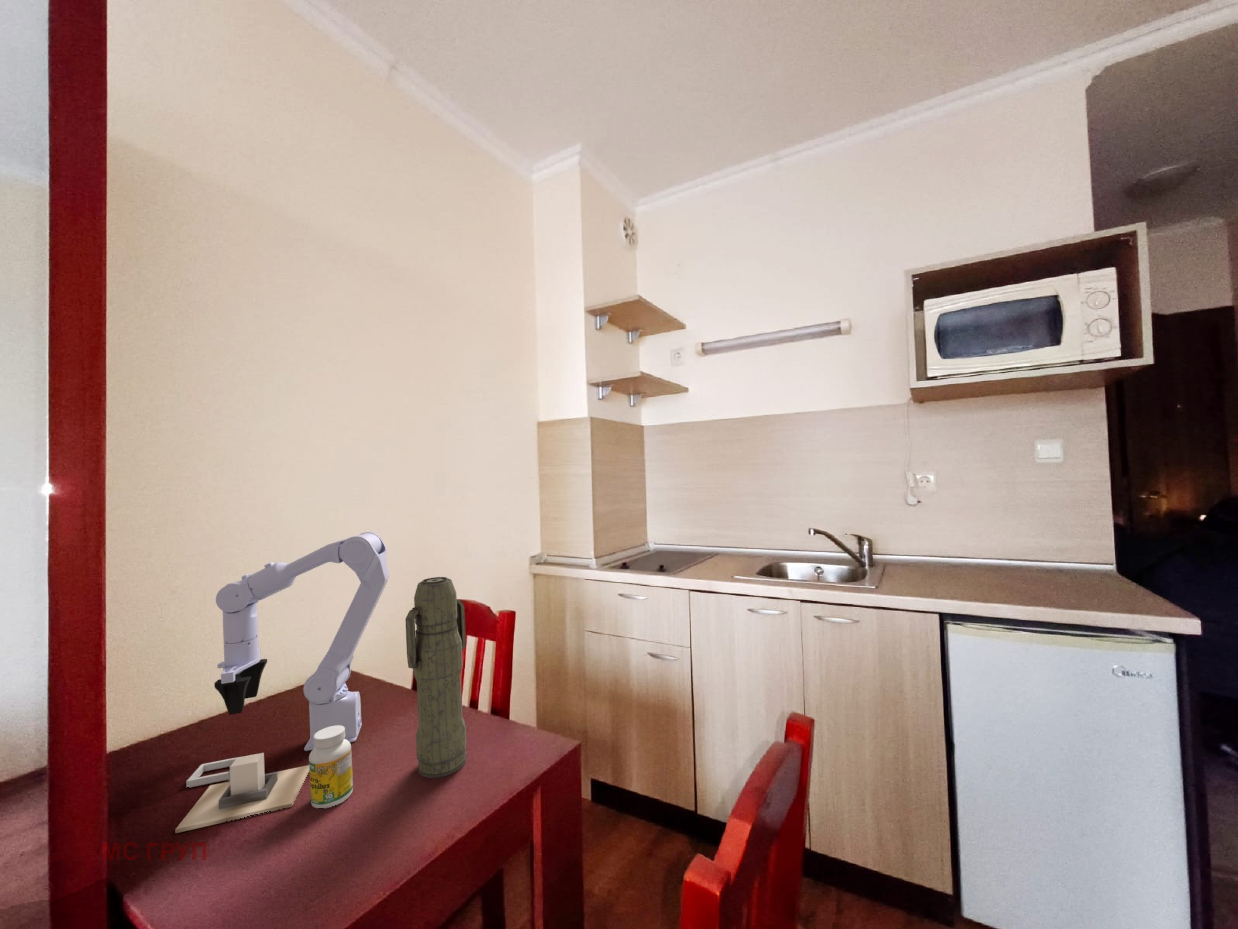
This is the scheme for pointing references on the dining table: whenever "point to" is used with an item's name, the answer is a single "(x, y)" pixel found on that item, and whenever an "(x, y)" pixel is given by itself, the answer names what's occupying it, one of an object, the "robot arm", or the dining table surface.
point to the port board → (245, 800)
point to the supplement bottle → (330, 768)
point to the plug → (247, 774)
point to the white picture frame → (197, 780)
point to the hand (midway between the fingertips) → (243, 705)
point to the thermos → (438, 675)
